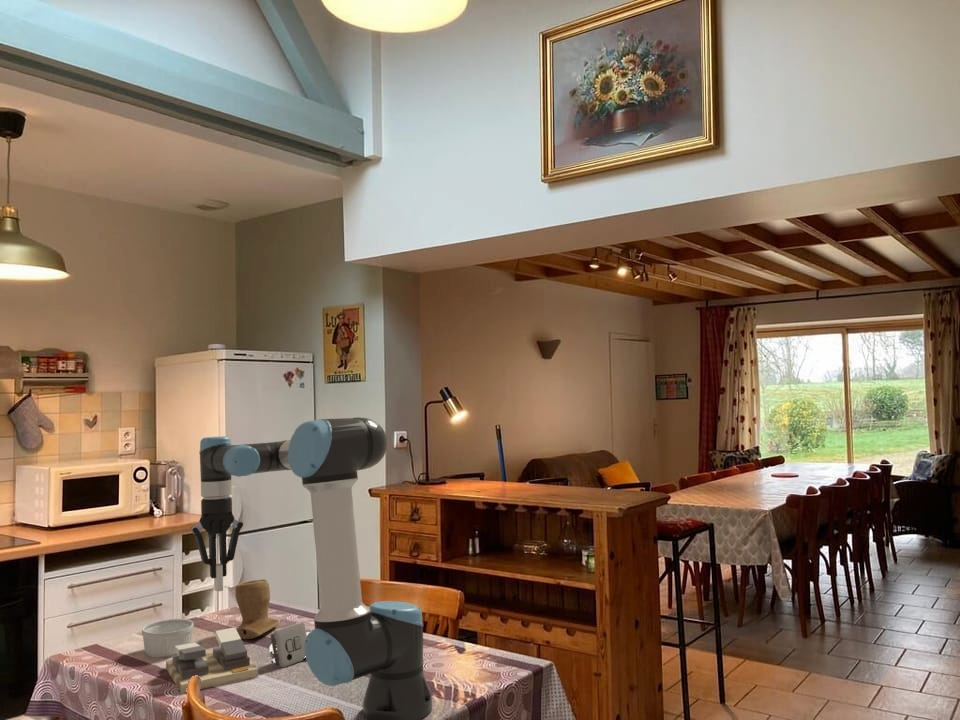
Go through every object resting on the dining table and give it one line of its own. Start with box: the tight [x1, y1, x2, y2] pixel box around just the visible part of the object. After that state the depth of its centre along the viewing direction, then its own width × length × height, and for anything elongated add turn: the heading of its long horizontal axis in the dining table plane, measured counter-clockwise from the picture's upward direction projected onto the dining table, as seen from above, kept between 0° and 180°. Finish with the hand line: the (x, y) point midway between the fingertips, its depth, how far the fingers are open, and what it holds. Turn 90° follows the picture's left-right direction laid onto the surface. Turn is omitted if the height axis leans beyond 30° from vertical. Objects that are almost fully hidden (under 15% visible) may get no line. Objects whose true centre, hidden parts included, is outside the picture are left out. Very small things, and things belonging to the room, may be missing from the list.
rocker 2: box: [215, 627, 248, 661], centre depth 200 cm, size 12×5×2 cm, turn 32°
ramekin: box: [141, 618, 195, 658], centre depth 214 cm, size 13×13×7 cm
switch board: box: [165, 646, 259, 694], centre depth 197 cm, size 20×18×4 cm
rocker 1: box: [175, 641, 207, 661], centre depth 194 cm, size 12×5×2 cm, turn 32°
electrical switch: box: [270, 622, 308, 668], centre depth 204 cm, size 9×5×9 cm, turn 141°
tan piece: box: [234, 578, 281, 640], centre depth 229 cm, size 15×12×15 cm
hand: (218, 590), depth 199 cm, fingers closed
